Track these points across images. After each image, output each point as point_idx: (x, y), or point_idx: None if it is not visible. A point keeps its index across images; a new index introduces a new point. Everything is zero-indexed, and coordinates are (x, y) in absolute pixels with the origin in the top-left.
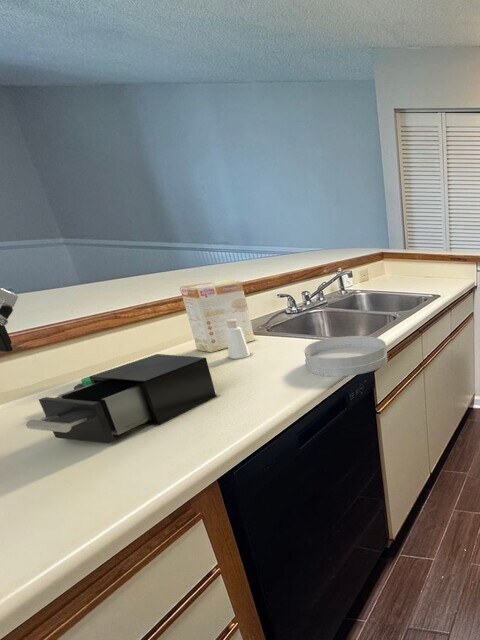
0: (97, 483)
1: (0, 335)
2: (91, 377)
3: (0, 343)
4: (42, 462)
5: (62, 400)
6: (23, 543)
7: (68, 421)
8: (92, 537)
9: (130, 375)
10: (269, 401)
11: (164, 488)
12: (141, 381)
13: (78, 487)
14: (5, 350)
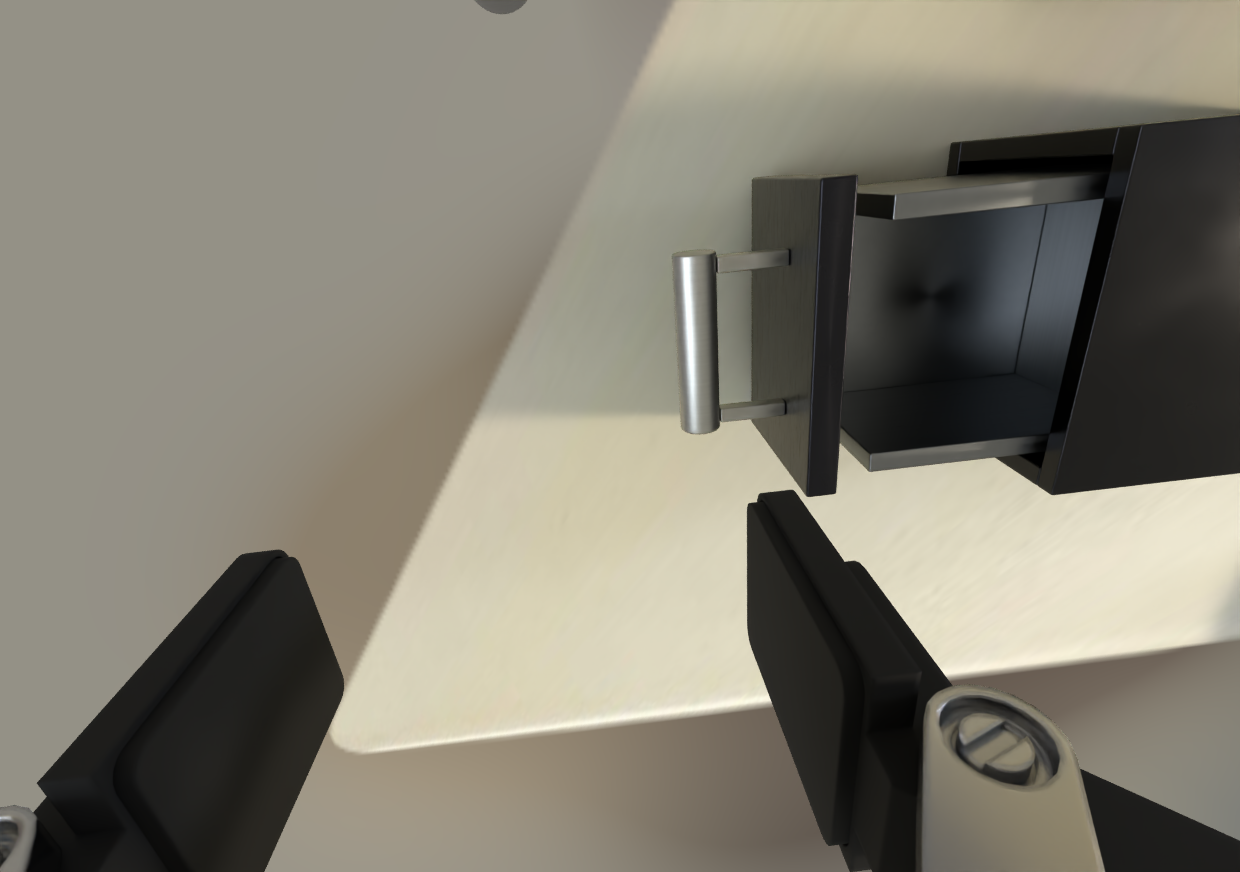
0: (587, 572)
1: (799, 769)
2: (1130, 146)
3: (767, 669)
4: (621, 306)
5: (828, 320)
6: (388, 653)
7: (776, 304)
8: (453, 735)
9: (1139, 354)
10: (1114, 580)
11: (617, 711)
12: (1051, 478)
13: (559, 550)
14: (750, 634)
